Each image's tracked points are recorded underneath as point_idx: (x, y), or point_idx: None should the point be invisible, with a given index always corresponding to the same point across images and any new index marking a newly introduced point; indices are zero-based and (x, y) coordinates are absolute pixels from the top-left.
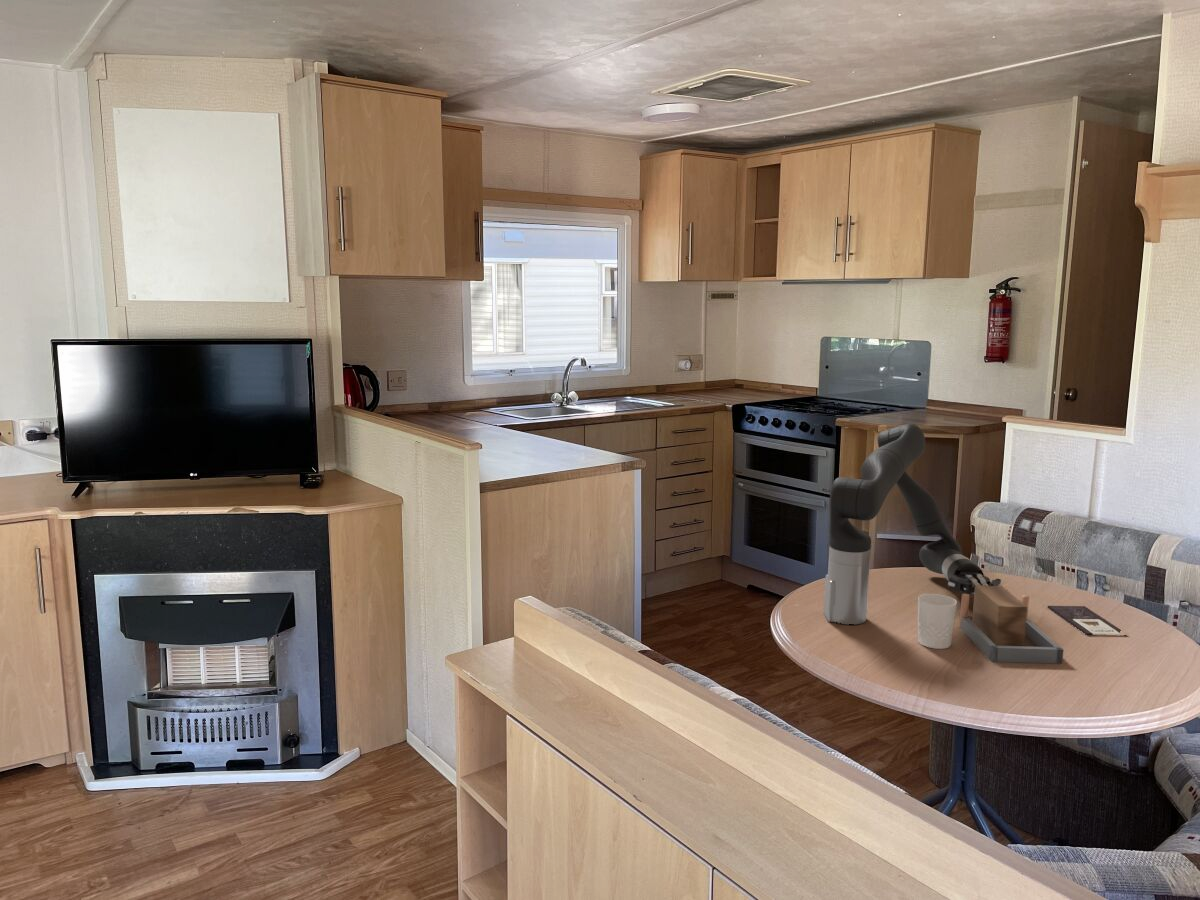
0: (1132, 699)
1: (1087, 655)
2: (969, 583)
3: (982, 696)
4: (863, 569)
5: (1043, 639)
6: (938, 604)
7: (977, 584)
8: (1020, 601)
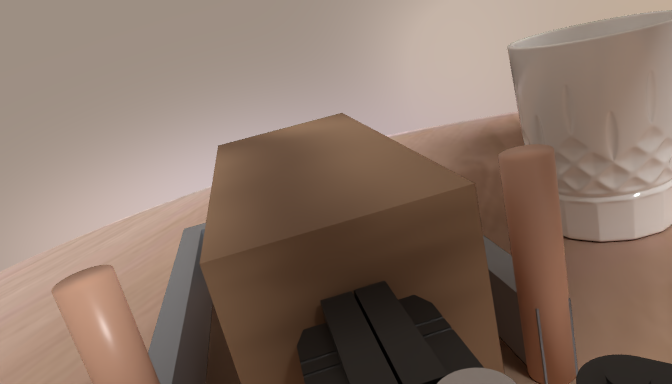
0: (150, 219)
1: (62, 343)
2: (617, 362)
3: (422, 142)
4: None
5: (197, 270)
6: (616, 85)
7: (482, 378)
8: (217, 159)
